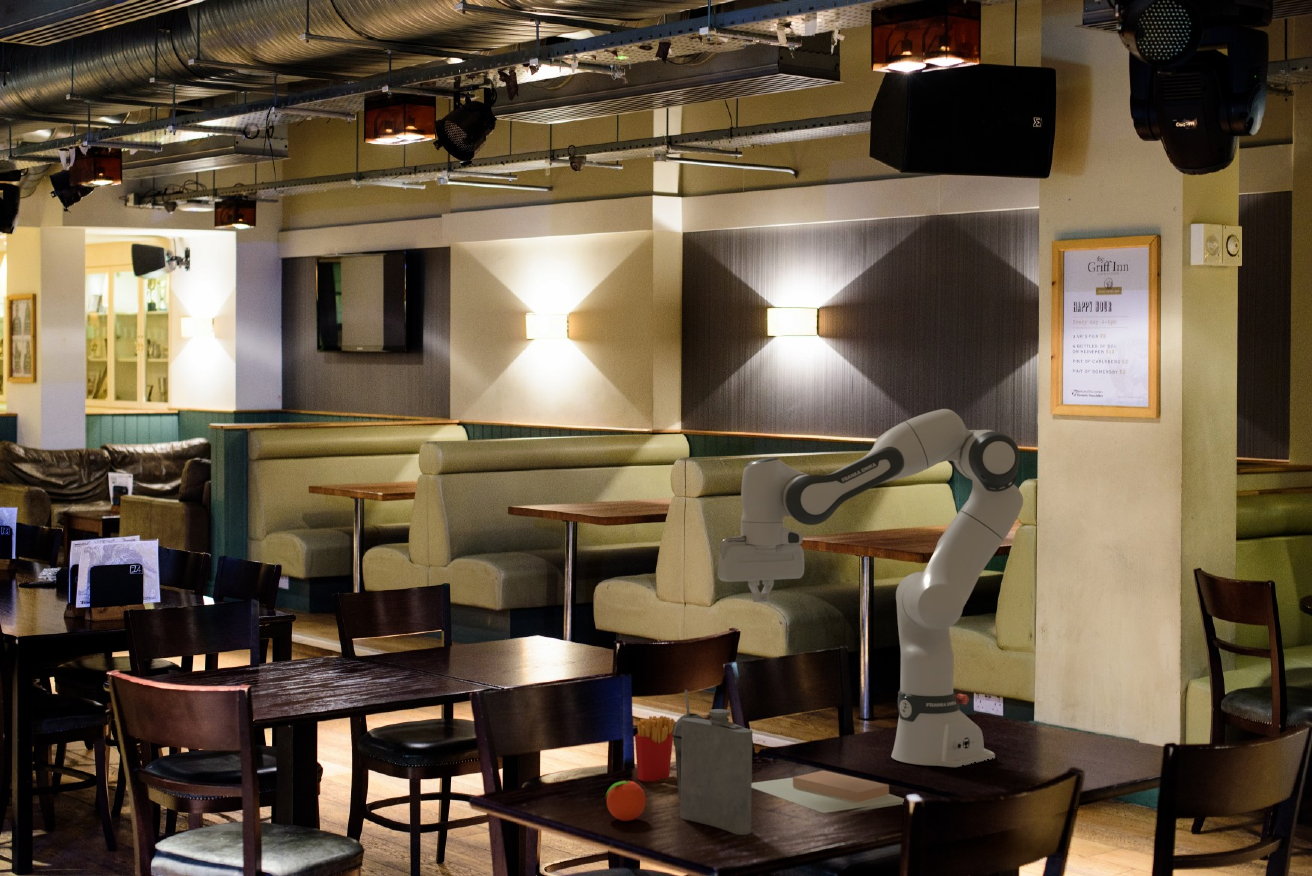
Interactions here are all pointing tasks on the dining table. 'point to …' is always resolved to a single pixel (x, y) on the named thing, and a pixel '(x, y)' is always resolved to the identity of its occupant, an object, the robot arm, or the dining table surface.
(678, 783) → the beverage cup
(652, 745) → the french fries
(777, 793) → the mat
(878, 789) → the tile
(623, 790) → the clementine
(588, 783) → the dining table surface
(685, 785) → the hip flask
